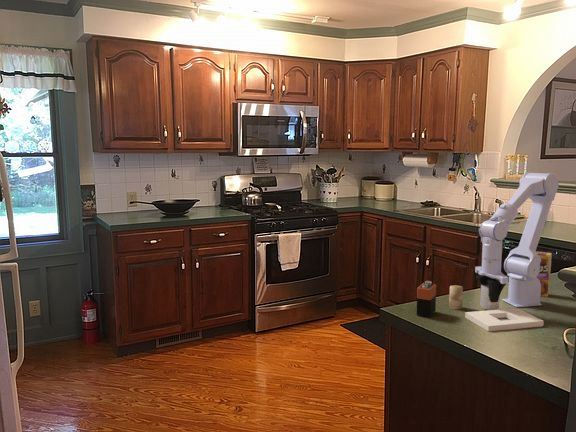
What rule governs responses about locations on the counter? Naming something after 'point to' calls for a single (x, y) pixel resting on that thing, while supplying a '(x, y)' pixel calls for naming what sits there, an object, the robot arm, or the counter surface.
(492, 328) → the bore board
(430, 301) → the battery
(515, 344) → the counter surface
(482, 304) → the square peg
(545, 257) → the candy box
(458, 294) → the round dowel
